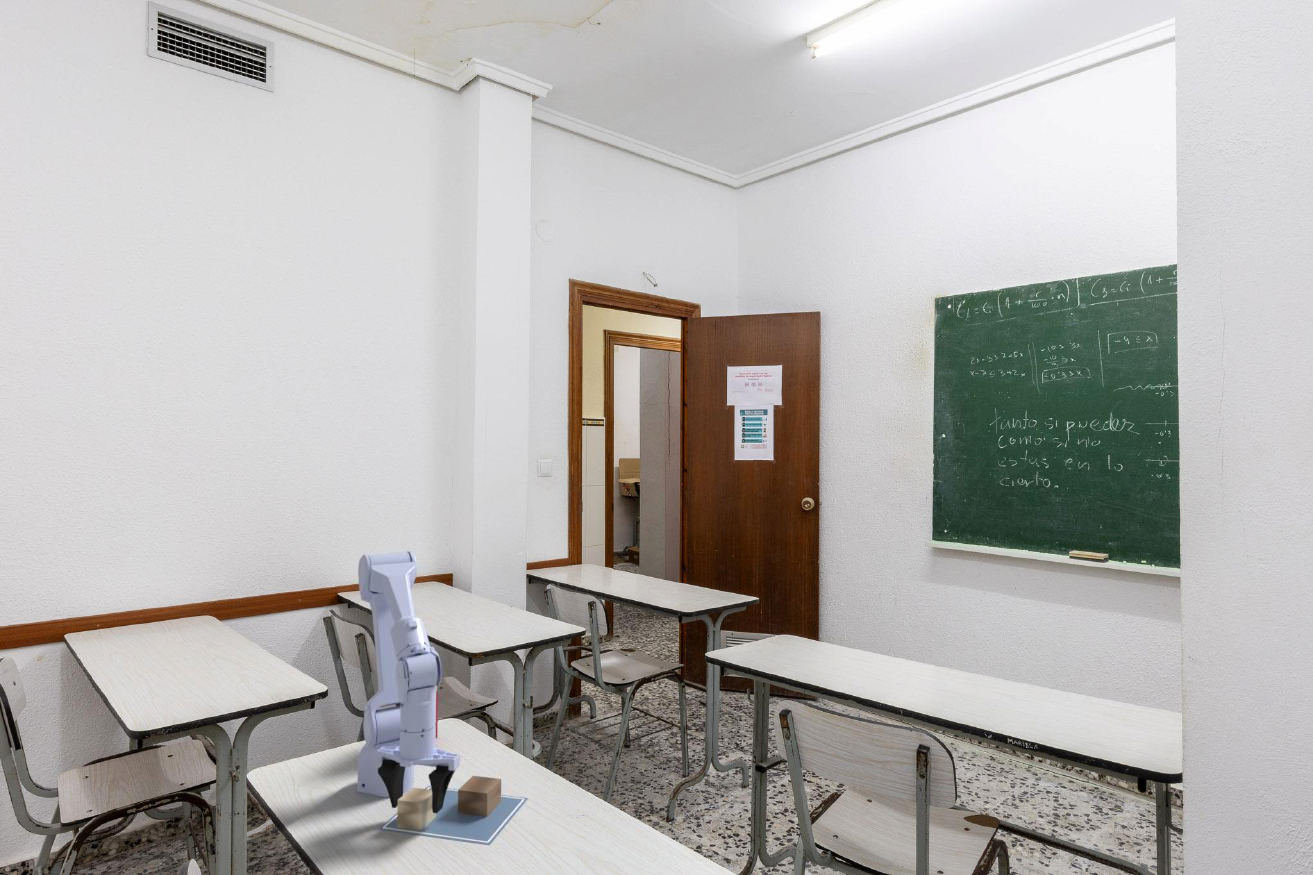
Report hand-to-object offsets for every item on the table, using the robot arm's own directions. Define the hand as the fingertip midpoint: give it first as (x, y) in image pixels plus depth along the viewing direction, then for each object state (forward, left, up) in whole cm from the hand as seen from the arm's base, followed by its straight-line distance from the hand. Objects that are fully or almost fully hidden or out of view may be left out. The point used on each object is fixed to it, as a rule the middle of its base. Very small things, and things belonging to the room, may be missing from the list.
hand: (417, 807), depth 120 cm
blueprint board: (+5, +4, -3) cm, 7 cm away
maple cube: (0, 0, -2) cm, 2 cm away
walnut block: (+8, +7, -2) cm, 11 cm away
